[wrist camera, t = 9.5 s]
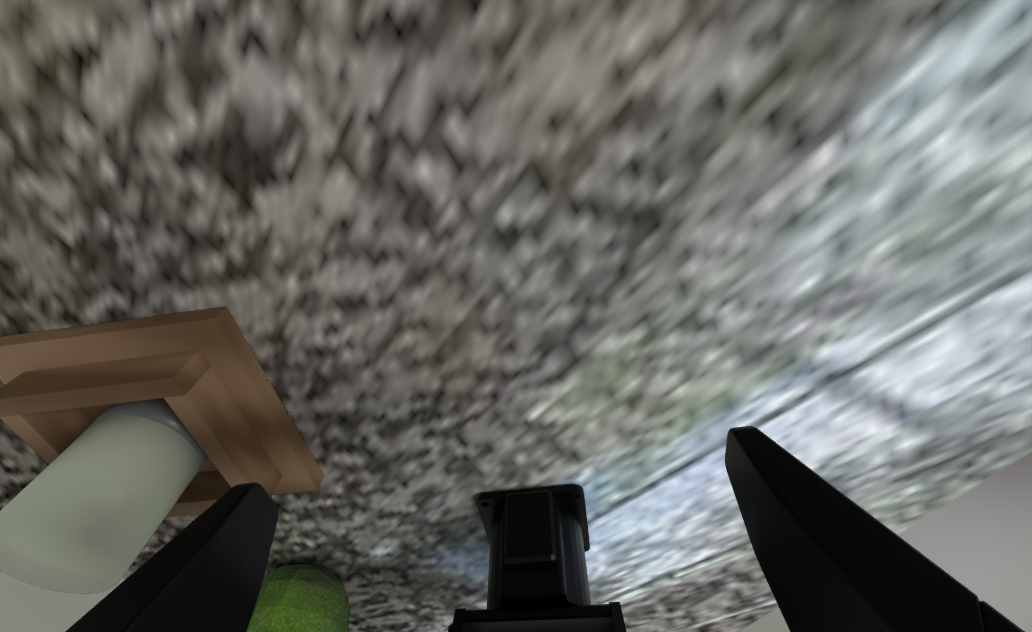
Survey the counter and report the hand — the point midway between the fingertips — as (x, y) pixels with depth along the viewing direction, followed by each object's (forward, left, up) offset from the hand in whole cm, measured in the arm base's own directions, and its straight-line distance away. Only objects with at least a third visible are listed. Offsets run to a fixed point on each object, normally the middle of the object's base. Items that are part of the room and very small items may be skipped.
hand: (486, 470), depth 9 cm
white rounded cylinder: (-8, +19, -11) cm, 23 cm away
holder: (-8, +19, -12) cm, 24 cm away
